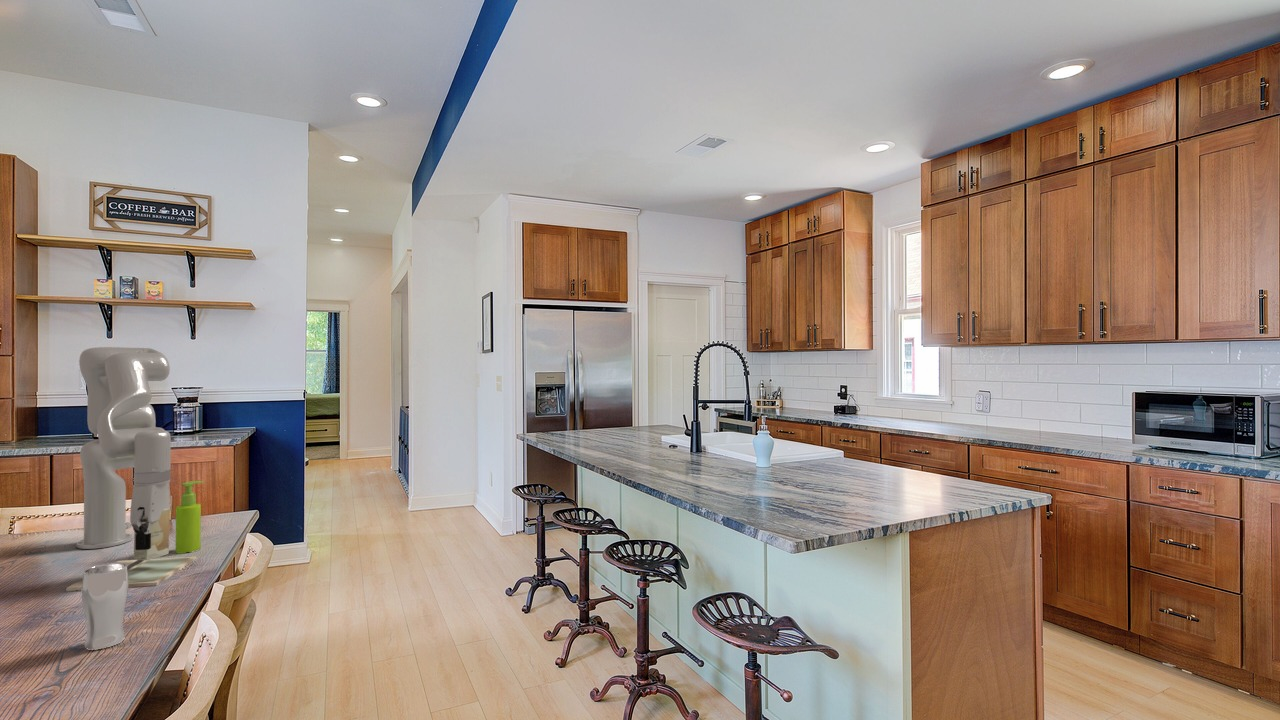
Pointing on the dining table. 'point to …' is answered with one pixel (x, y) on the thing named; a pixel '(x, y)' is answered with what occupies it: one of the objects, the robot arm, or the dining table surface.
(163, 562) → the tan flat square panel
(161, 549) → the skincare box
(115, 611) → the beer glass
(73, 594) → the dining table surface
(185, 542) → the soap dispenser
